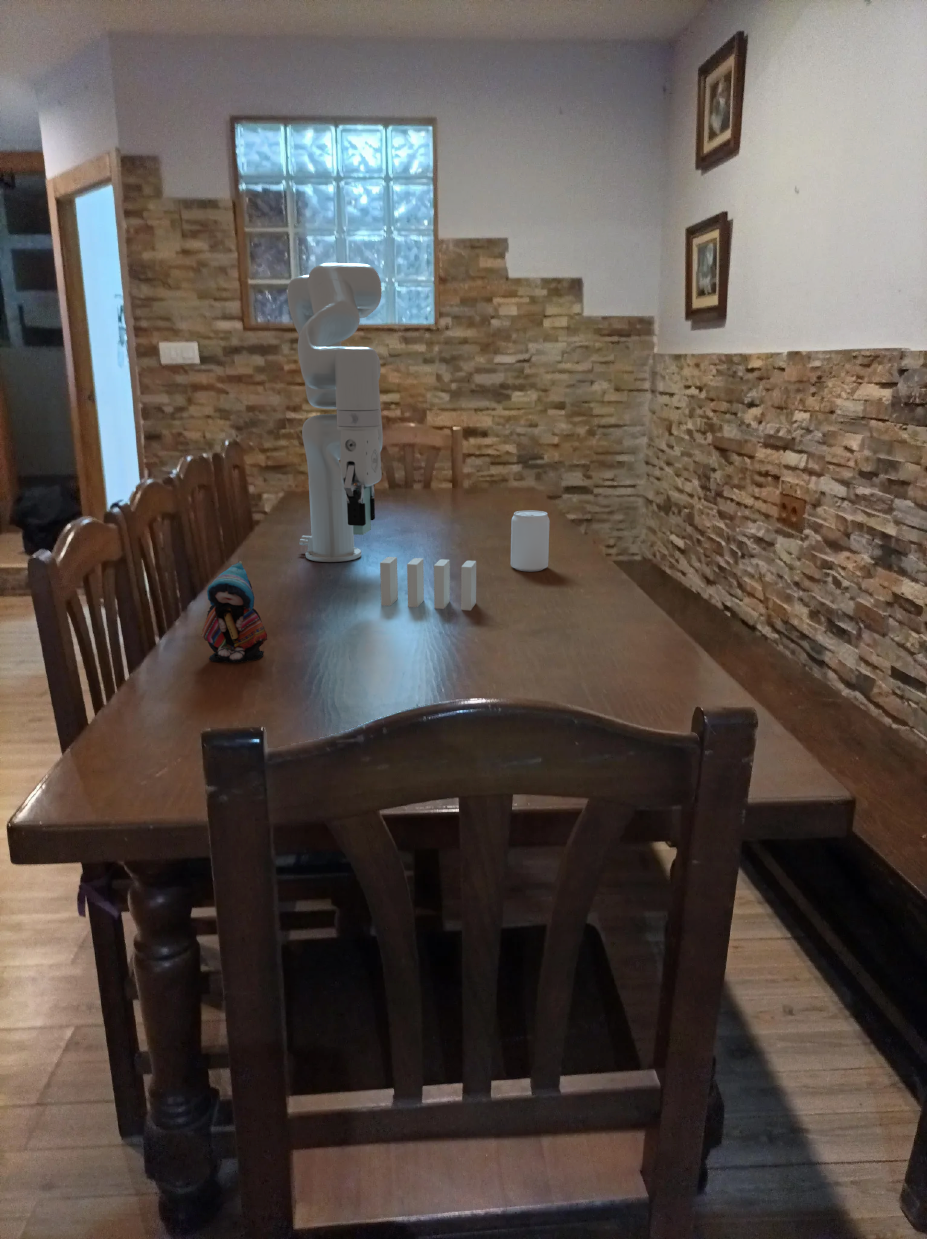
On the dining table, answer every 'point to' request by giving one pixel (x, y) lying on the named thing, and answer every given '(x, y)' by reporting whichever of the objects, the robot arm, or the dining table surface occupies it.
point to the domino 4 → (441, 583)
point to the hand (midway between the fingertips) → (361, 521)
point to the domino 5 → (468, 585)
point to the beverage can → (529, 540)
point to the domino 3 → (415, 582)
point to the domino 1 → (367, 527)
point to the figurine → (233, 618)
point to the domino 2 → (389, 581)
